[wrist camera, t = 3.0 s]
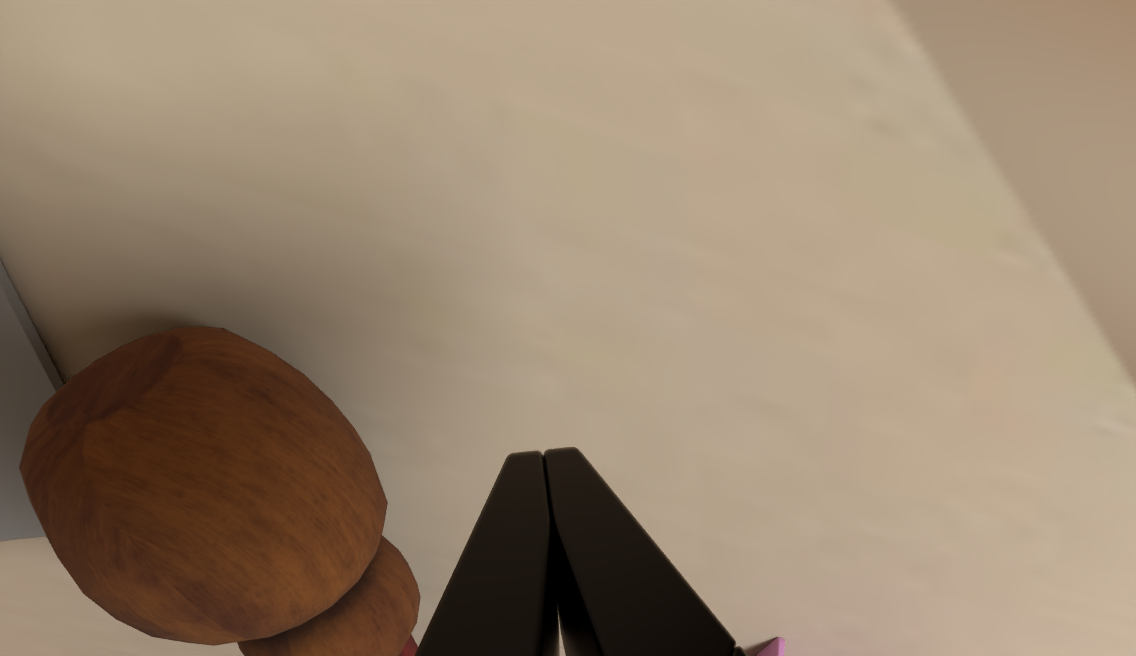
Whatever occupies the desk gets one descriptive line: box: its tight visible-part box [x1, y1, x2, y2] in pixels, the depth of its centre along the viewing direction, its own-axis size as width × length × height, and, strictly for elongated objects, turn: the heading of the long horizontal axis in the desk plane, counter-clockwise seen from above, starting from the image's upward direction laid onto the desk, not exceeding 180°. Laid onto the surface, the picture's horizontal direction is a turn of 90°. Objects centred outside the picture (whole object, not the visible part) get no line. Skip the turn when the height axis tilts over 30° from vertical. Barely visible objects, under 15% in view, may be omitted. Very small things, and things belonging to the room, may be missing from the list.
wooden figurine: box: [19, 327, 420, 656], centre depth 21 cm, size 7×6×15 cm
